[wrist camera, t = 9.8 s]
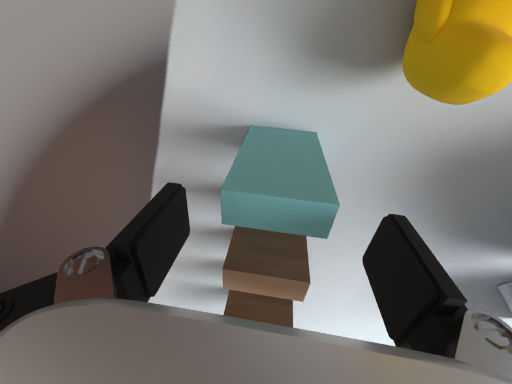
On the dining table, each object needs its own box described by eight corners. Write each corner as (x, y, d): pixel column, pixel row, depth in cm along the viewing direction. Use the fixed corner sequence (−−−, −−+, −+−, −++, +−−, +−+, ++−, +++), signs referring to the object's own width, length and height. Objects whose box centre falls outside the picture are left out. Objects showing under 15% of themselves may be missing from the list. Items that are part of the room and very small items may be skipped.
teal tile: (251, 125, 17) (220, 189, 9) (316, 132, 16) (339, 205, 9) (249, 149, 18) (221, 223, 10) (310, 156, 17) (326, 238, 10)
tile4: (297, 209, 21) (302, 301, 13) (246, 202, 21) (222, 288, 13) (302, 192, 19) (310, 283, 12) (247, 185, 20) (222, 268, 12)
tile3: (288, 248, 24) (288, 339, 16) (243, 241, 24) (223, 328, 17) (291, 235, 22) (292, 327, 15) (244, 228, 23) (223, 315, 15)
